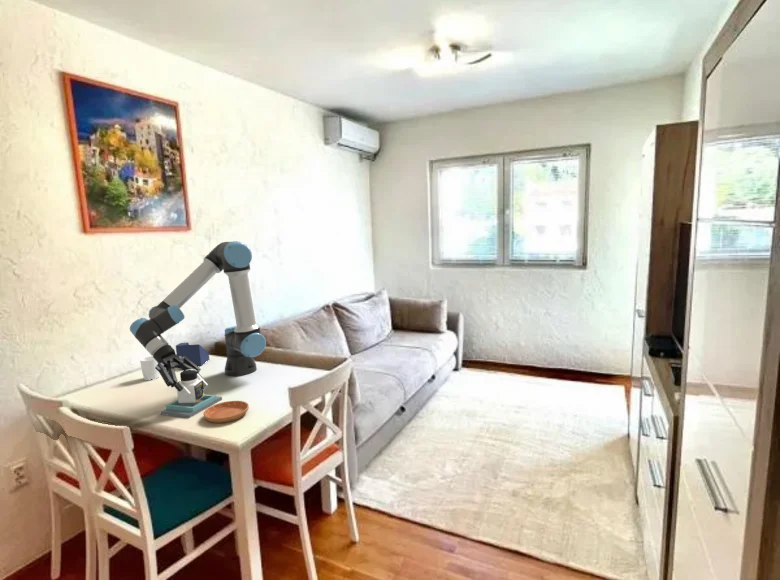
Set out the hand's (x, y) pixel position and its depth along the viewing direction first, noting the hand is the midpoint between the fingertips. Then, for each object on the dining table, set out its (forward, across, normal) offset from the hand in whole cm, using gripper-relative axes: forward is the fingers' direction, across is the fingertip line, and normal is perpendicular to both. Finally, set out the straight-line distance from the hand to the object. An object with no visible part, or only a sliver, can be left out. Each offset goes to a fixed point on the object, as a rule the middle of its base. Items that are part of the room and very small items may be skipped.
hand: (197, 391), depth 171 cm
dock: (+2, 0, -7) cm, 7 cm away
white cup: (-32, -26, -42) cm, 58 cm away
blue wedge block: (-29, -50, -39) cm, 70 cm away
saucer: (+17, +4, +7) cm, 19 cm away
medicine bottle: (0, 0, -5) cm, 5 cm away
